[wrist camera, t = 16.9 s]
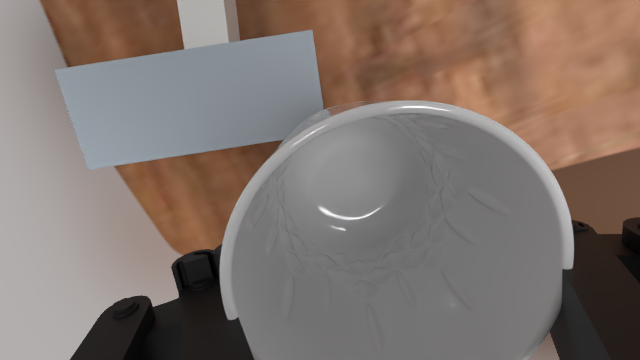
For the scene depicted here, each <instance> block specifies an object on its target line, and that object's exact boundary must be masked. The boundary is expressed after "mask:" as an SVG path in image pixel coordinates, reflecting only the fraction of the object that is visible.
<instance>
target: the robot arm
mask: <svg viewBox="0 0 640 360" xmlns="http://www.w3.org/2000/svg"><path fill="white" fill-rule="evenodd" d="M571 221H572V227H573V236H574V261H573V268H572V269H562V306H561V311H560V313H559V315H558V317H557V319H556V321H555V323H554V325H553V326H552V328H551V330H550V334H551V337H552V340H553V342H554V345H555V348H556V350H557V353H558V356H559V359H560V360H640V218H631V219H627V220H625V221H624V222H623V230H622V234H597V233H596V232H595V231H594V229H593V228H592V227H590V226H589V225H587V224H585V223H583V222H579V221H574V220H571ZM221 249H222V244H221V245H220V246H218V247H217V248H216V249H215V250H210V249H205V250H198V251H194V252H191V253H188V254H186V255H184V256H182V257H180V258H178V259H177V260H176V261H175V262H174V263H173V264H172V267H171V268H172V271H173V275H174V278H175V282H176V285H177V289H178V292H179V298H177V299H175V300H173V301H170V302H167V303H164V304H161V305H158V306H155V307H153V306H152V303H151V300H150V299H149V298H148V297H147V296H134V297H130V298H124V299H122V300H120V301H118V302H116V303H114V304H113V305H112V306H110V307H109V308H107V309H106V310H105V311H104V312H103V313H102V314H101V315H100V317H99V318H98V320H97V321H96V322H95V324H94V325H93V327H92V328H91V330H90V331H89V333H88V334H87V336H86V337H85V339H84V340H83V341H82V343H81V344H80V346H79V347H78V349H77V350H76V352H75V353H74V355H73V356H72V358H71V359H70V360H254V357H253V355H252V352H251V349H250V347H249V344H248V341H247V339H246V336H245V333H244V331H243V328H242V325H241V323H240V320H239V317H238V318H236V319H234V320H228V319H227V316H226V313H225V310H224V306H223V301H222V296H221V289H220V256H221Z"/></svg>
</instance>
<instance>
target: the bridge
mask: <svg viewBox="0 0 640 360" xmlns="http://www.w3.org/2000/svg"><path fill="white" fill-rule="evenodd" d="M55 73H56V76H57V79H58V82H59V85H60V88H61V91H62V94H63V97H64V100H65V103H66V106H67V109H68V112H69V115H70V118H71V121H72V124H73V127H74V130H75V133H76V136H77V139H78V142H79V145H80V147H81V151H82V154H83V156H84V159H85V162H86V165H87V168H88V170H91V169H97V168H103V167H110V166H117V165H123V164H129V163H136V162H142V161H149V160H155V159H162V158H168V157H175V156H181V155H188V154H194V153H200V152H207V151H213V150H220V149H226V148H233V147H239V146H246V145H252V144H259V143H265V142H271V141H278V140H284V139H285V138H286V137H287V136H288V135H289V134H290V133H291V132H292V131H293V130H294V129H295V128H296V127H297V126H298V125H300V124H301V123H302V122H304V121H305V120H306V119H308V118H309V117H311V116H312V115H314V114H316V113H318V112H320V111H322V110H324V108H323V101H322V94H321V87H320V80H319V73H318V66H317V59H316V52H315V45H314V38H313V31H312V30H306V31H300V32H294V33H287V34H281V35H274V36H268V37H261V38H255V39H248V40H242V41H235V42H229V43H223V44H216V45H210V46H203V47H197V48H190V49H184V50H177V51H171V52H164V53H158V54H152V55H145V56H139V57H132V58H126V59H119V60H113V61H106V62H100V63H94V64H87V65H81V66H74V67H68V68H61V69H55Z"/></svg>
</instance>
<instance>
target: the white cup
mask: <svg viewBox="0 0 640 360" xmlns="http://www.w3.org/2000/svg"><path fill="white" fill-rule="evenodd" d="M573 261H574V236H573V227H572V221H571V217H570V213H569V209H568V206H567V203H566V200H565V197H564V195H563V192H562V190H561V188H560V186H559V184H558V182H557V180H556V179H555V177H554V175H553V174H552V172H551V170H550V169H549V168H548V166H547V165H546V163H545V162H544V161H543V160H542V158H541V157H540V156H539V155H538V154H537V153H536V152H535V151H534V150H533V149H532V148H531V147H530V146H529V145H528V144H527V143H526V142H525V141H524V140H523V139H521V138H520V137H519V136H518V135H516V134H515V133H514V132H512V131H511V130H509V129H508V128H506V127H505V126H503V125H501V124H500V123H498V122H496V121H494V120H492V119H490V118H488V117H486V116H484V115H482V114H479V113H477V112H474V111H471V110H468V109H465V108H462V107H458V106H455V105H450V104H445V103H439V102H432V101H421V100H398V101H359V102H350V103H345V104H340V105H336V106H332V107H330V108H327V109H324V110H322V111H320V112H318V113H316V114H314V115H312V116H311V117H309V118H308V119H306V120H305V121H304V122H302V123H301V124H300V125H298V126H297V127H296V128H295V129H294V130H293V131H292V132H291V133H290V134H289V135H288V136H287V137H286V138H285V139H284V140H283V141H282V143H281V144H280V145H279V146H278V147H277V149H276V150H275V151H274V152H273V154H272V155H271V156H270V157H269V158H268V159H267V160H266V162H265V163H264V164H263V165H262V166H261V167H260V168H259V170H258V171H257V172H256V173H255V175H254V176H253V177H252V179H251V180H250V181H249V183H248V184H247V186H246V187H245V189H244V190H243V192H242V194H241V196H240V197H239V199H238V201H237V203H236V205H235V207H234V209H233V211H232V214H231V216H230V219H229V222H228V224H227V228H226V231H225V235H224V239H223V243H222V249H221V256H220V289H221V296H222V301H223V306H224V310H225V313H226V316H227V319H228V320H234V319H236V318H238V317H239V320H240V323H241V325H242V328H243V331H244V333H245V336H246V339H247V341H248V344H249V347H250V349H251V352H252V355H253V357H254V360H528V358H529V357H530V356H531V355H532V354H533V353H534V352H535V350H536V349H537V348H538V347H539V346H540V344H541V343H542V342H543V340H544V339H545V337H546V336H547V334H548V333H549V331H550V330H551V328H552V326H553V325H554V323H555V321H556V319H557V317H558V315H559V313H560V311H561V306H562V269H572V268H573Z"/></svg>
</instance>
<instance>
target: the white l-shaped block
mask: <svg viewBox="0 0 640 360" xmlns="http://www.w3.org/2000/svg"><path fill="white" fill-rule="evenodd" d="M177 4H178V11H179V17H180V24H181V30H182V37H183V43H184V49H190V48H197V47H203V46H210V45H216V44H223V43H229V42H235V41H240V35H239V26H238V17H237V8H236V0H177Z"/></svg>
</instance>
